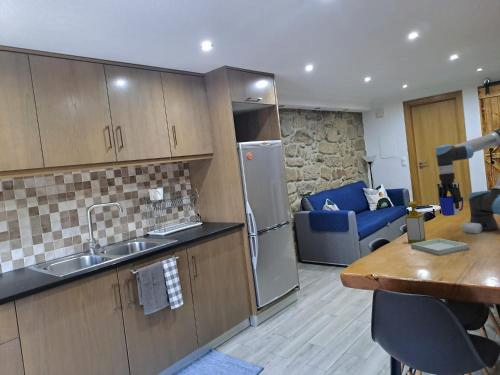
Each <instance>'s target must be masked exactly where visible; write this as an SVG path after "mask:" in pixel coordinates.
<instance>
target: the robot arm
mask: <svg viewBox="0 0 500 375" xmlns="http://www.w3.org/2000/svg"><path fill="white" fill-rule="evenodd" d="M492 147H493V148H497V147H500V128H498V129H495V130H492V131H490V132H488V133H487V134H485V135H482V136H479V137H477V138H473V139H469V140H466V141H464V142H460V143H458V144H454V145H451V144H443V145H438V146H436V147H435V157H436V162H437V169H438V174H439V175H438V178H439V181H440V183H437V184H436V186H437V190H438V191H437V193H438V196H437V198H438V199H439V198H440V197H443V198H445V197H446V196H448V192H449V194H450V196H452V197H453V201H454V202H453V205H454V215H453V216H457V215H460V211H459V210H460V203H462V199H461V197H462V196H461V195H462V194H461V190H460V183H456V182H455V181H454V180H455V179H456V177H455V173H454V172H455V168H454V162H455V161H456V162H457V161H463V160H469V159H472V158H473V156H474V154H475V153H476V152H479V151H482V150H486V149H488V148H492ZM468 203H469V213H470V219H469V223H479V224H481V226H482V232H484V233H485V232H486V233H487V232H494V231H497V230H499V229H500V228H499V225H498V223H497V220H496V218H495V215H498V216H500V174H499V175H498V178H497V181H496V184H495V185H494V186H493V187H491V188H490V190H489V189H488V190H481V191H473V192H470V193H468ZM482 232H481V233H482Z"/></svg>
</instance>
